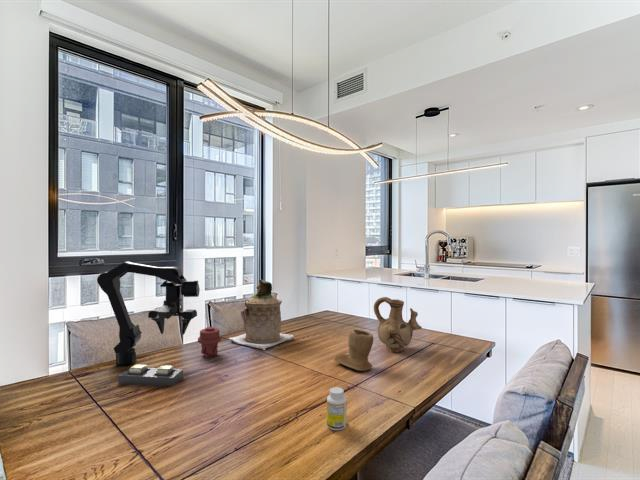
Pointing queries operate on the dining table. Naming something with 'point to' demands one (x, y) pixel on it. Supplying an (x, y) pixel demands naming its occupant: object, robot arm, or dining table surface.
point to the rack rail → (150, 378)
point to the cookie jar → (262, 320)
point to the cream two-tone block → (164, 370)
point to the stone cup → (357, 351)
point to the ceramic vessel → (395, 325)
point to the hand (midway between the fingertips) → (172, 334)
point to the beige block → (138, 369)
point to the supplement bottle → (336, 409)
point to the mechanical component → (209, 341)
